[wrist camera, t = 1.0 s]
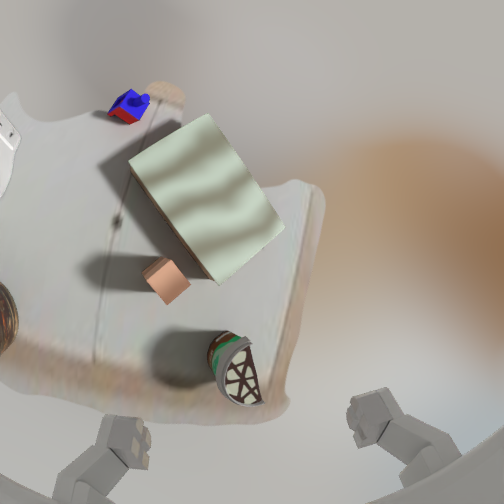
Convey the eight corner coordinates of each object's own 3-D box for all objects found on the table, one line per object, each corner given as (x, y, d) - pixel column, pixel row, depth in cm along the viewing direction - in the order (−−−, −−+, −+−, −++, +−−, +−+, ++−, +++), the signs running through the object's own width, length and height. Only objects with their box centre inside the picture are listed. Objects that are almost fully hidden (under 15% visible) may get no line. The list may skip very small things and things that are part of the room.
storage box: (127, 169, 39) (128, 160, 35) (199, 125, 44) (208, 113, 39) (209, 281, 46) (219, 285, 41) (270, 228, 50) (285, 227, 46)
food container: (192, 333, 44) (211, 354, 35) (226, 322, 47) (251, 340, 38) (210, 392, 46) (231, 420, 37) (240, 381, 48) (266, 405, 39)
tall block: (141, 272, 41) (146, 280, 32) (160, 256, 42) (171, 259, 33) (157, 292, 42) (167, 305, 33) (176, 276, 43) (191, 284, 34)
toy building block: (125, 126, 40) (148, 116, 35) (106, 114, 36) (127, 101, 32) (135, 110, 40) (159, 98, 35) (117, 97, 37) (139, 83, 32)
